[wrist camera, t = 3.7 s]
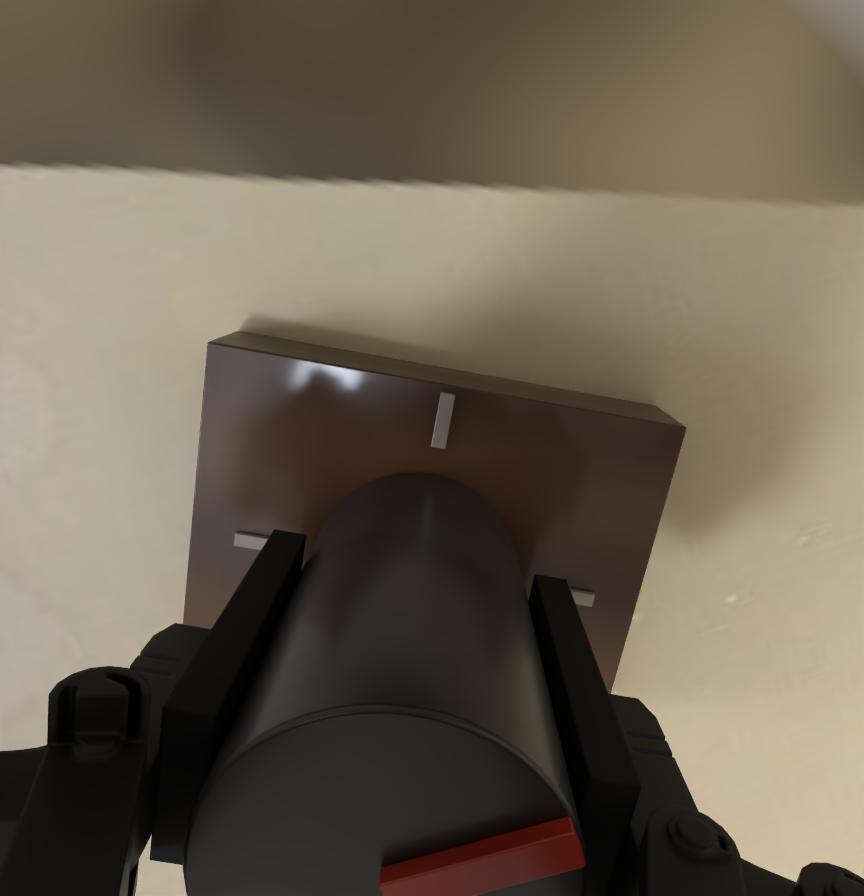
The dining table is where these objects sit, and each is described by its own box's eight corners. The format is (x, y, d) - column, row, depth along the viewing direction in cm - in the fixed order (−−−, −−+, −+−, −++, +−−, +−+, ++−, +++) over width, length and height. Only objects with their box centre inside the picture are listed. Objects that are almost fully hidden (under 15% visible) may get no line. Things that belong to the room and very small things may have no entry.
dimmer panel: (237, 330, 19) (204, 342, 17) (657, 406, 20) (689, 429, 17) (205, 643, 22) (174, 695, 19) (576, 705, 22) (593, 764, 20)
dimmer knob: (358, 682, 19) (272, 1093, 10) (281, 510, 18) (97, 795, 8) (543, 625, 19) (642, 1003, 9) (478, 443, 17) (517, 667, 8)
